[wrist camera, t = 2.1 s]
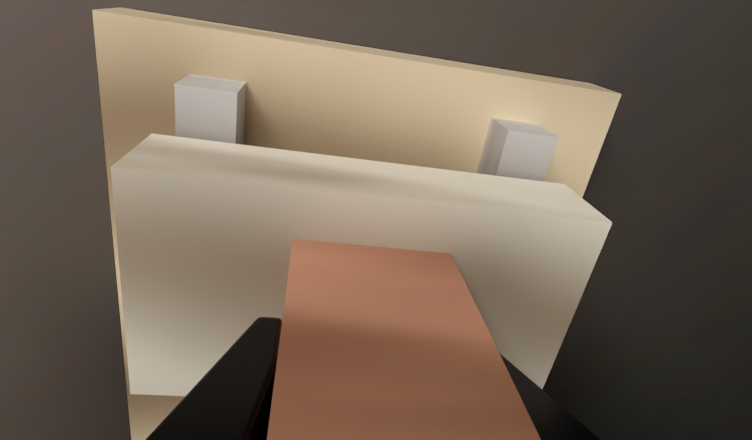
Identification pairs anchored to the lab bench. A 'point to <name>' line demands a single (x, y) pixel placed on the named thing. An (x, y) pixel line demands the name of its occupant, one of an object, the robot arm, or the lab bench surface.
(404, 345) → the slider
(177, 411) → the robot arm
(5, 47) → the lab bench surface
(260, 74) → the press bed
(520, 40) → the lab bench surface
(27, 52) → the lab bench surface
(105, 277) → the lab bench surface
